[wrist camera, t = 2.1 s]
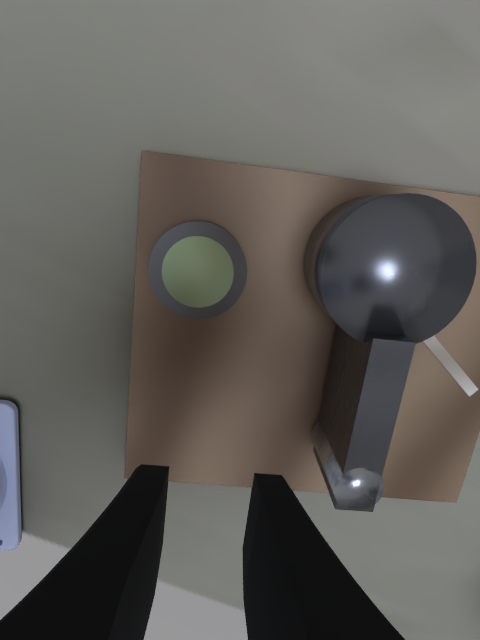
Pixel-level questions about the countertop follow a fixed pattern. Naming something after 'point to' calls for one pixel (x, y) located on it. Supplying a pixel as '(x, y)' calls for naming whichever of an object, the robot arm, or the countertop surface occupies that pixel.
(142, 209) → the tribrach board
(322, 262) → the knob
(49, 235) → the countertop surface
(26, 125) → the countertop surface
